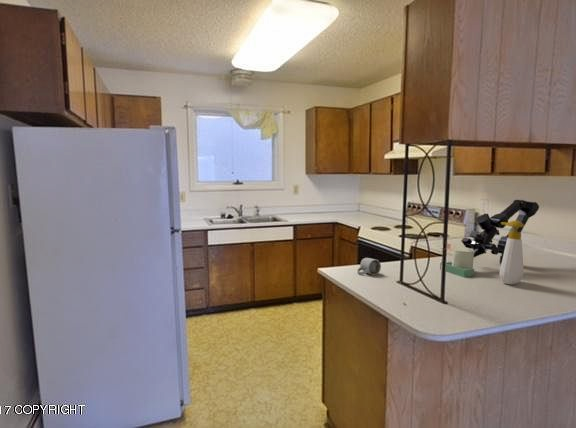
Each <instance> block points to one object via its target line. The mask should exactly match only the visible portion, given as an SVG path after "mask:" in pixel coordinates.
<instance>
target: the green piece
mask: <svg viewBox="0 0 576 428" xmlns="http://www.w3.org/2000/svg"><path fill="white" fill-rule="evenodd" d="M442 248H443V246H442ZM446 249H447V250H451V243H447V248H446ZM445 262H446V271H445V272H448V273H450V274H453V275H456V276H459V277H461V278H468V277H474V276H475V275H474V274H475V268H474V267H473V268H469V269H462V268H459V267H455V266H454V265H453V262H452V261H445ZM441 265H442V262H440V264H439V270H441Z"/></svg>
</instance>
